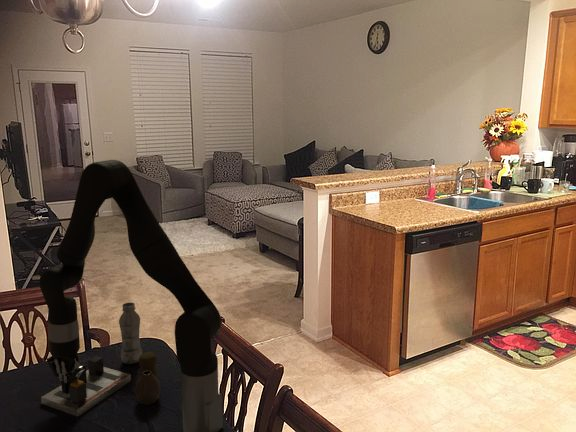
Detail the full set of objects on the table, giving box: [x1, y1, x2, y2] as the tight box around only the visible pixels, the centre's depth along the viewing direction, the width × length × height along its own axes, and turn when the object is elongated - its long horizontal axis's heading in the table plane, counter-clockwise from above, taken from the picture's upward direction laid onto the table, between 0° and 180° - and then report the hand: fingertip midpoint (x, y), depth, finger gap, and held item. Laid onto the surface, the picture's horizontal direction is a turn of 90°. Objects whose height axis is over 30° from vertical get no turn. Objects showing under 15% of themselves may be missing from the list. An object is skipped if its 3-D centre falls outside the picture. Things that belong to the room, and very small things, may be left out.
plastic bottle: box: [118, 302, 143, 365], centre depth 155 cm, size 6×7×20 cm
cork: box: [138, 351, 159, 380], centre depth 141 cm, size 6×6×11 cm
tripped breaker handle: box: [69, 380, 87, 403], centre depth 132 cm, size 3×3×5 cm
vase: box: [134, 371, 161, 405], centre depth 135 cm, size 7×7×9 cm
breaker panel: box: [40, 355, 132, 417], centre depth 140 cm, size 14×20×6 cm
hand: (67, 392), depth 134 cm, fingers closed
